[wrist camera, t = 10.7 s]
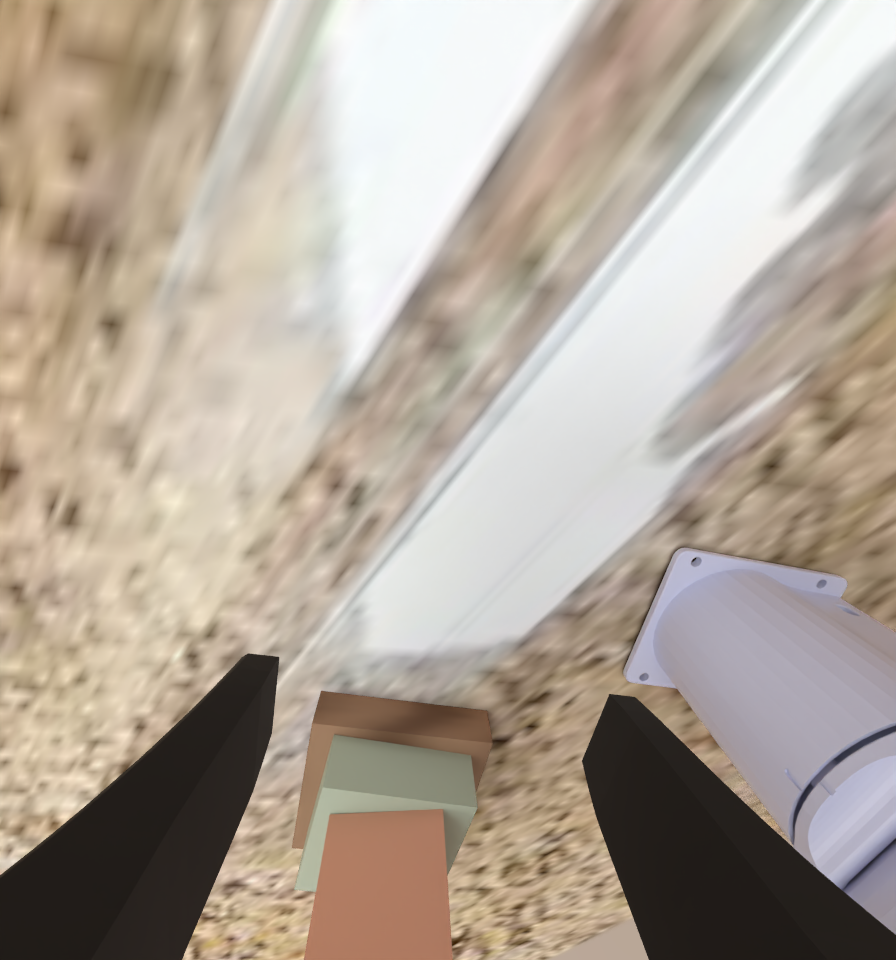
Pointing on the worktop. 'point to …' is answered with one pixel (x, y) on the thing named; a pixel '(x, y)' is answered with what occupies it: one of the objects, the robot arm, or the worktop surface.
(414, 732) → the walnut block
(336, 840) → the terracotta block
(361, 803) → the sage block
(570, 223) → the worktop surface
